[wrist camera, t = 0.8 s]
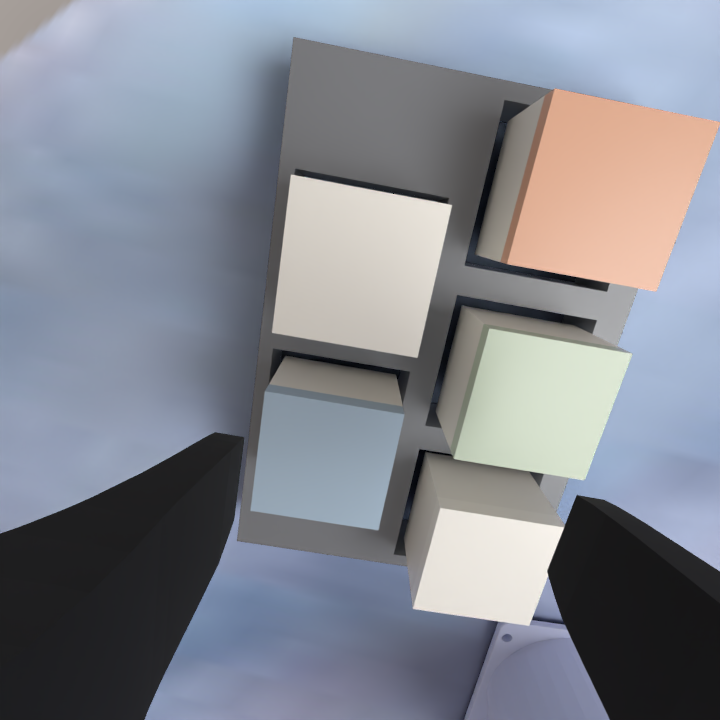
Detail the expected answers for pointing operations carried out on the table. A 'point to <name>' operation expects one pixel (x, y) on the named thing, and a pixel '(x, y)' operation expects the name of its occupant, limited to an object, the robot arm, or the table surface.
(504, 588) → the cream key
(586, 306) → the keypad board
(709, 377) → the table surface
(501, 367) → the sage key
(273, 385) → the blue key
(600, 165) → the terracotta key
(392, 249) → the cream key
